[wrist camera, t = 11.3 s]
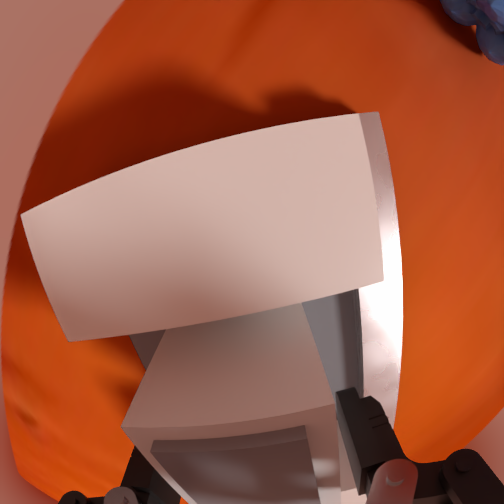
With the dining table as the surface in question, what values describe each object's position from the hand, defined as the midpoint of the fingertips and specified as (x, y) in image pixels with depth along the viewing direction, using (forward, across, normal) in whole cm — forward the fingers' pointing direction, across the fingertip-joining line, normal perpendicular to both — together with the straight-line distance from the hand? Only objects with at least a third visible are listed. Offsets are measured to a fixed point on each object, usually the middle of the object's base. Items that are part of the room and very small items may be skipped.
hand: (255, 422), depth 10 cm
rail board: (+5, -1, 0) cm, 5 cm away
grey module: (+4, 0, 0) cm, 4 cm away
